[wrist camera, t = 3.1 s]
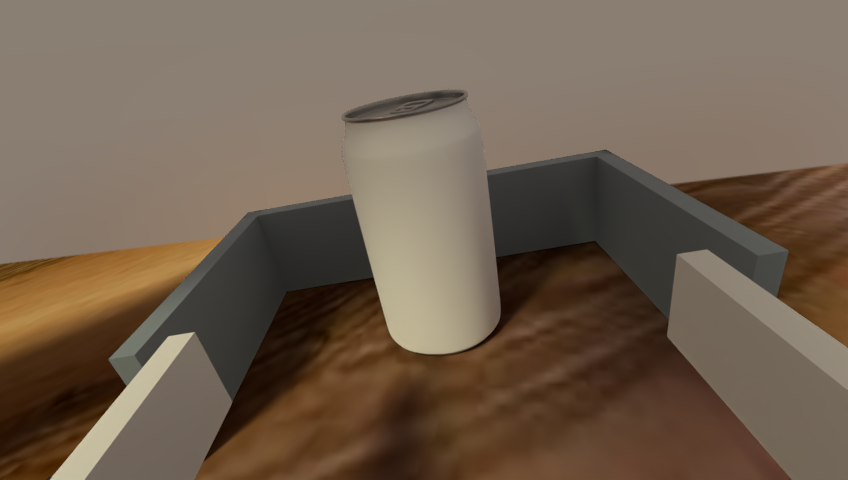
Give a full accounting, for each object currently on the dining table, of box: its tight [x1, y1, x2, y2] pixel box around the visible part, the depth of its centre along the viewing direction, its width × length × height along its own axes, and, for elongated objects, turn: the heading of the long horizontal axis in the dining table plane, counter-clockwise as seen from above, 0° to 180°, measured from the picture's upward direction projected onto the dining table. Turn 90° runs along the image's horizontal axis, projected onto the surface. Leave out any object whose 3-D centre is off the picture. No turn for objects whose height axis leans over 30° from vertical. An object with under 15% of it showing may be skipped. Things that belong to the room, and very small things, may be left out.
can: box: [342, 90, 501, 356], centre depth 20 cm, size 6×6×12 cm
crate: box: [108, 150, 789, 401], centre depth 22 cm, size 14×24×6 cm, turn 92°
